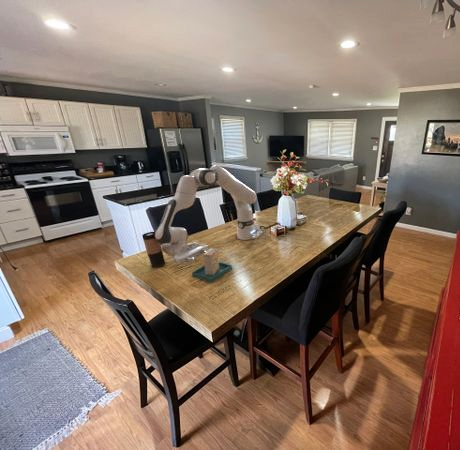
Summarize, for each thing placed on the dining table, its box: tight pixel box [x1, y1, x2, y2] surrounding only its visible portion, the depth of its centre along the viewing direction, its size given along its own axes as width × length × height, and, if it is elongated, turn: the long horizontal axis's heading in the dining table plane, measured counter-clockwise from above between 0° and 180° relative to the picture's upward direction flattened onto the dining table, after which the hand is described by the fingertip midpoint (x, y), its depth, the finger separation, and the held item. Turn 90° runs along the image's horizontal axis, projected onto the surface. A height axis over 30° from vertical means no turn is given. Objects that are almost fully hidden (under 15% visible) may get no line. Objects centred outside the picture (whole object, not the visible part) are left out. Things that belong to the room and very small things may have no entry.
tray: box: [191, 261, 233, 283], centre depth 137 cm, size 16×14×2 cm
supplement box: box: [202, 248, 220, 276], centre depth 135 cm, size 8×5×13 cm, turn 174°
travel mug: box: [141, 231, 166, 268], centre depth 142 cm, size 8×8×20 cm
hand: (201, 256), depth 137 cm, fingers open, 8 cm apart
